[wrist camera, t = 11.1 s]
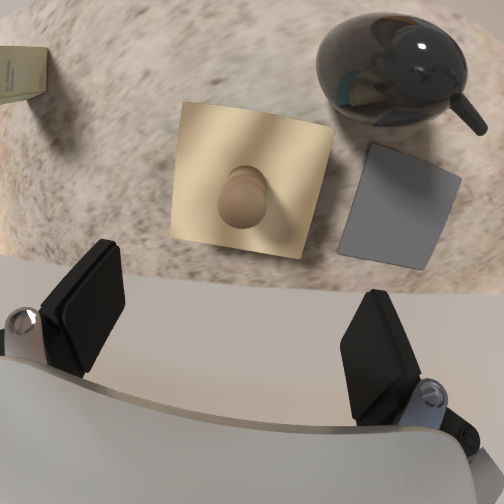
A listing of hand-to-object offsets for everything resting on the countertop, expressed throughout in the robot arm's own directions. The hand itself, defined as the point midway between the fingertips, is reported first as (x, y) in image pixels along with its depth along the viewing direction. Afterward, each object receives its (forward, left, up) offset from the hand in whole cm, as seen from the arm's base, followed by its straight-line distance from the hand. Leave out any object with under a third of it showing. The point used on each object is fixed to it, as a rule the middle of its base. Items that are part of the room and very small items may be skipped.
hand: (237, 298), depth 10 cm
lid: (0, 0, -16) cm, 16 cm away
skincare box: (+29, -10, -20) cm, 36 cm away
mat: (-17, +1, -20) cm, 27 cm away
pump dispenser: (-8, -12, -20) cm, 25 cm away
